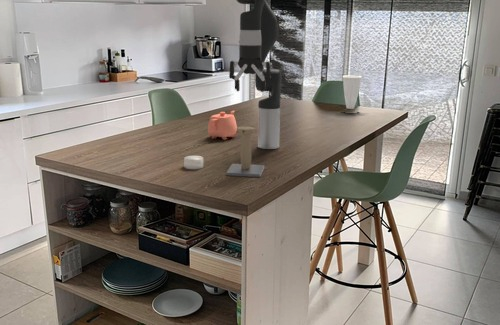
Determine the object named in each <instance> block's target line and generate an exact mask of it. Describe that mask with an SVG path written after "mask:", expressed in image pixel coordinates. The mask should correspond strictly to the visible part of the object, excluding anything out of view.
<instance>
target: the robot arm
mask: <svg viewBox="0 0 500 325" xmlns="http://www.w3.org/2000/svg"><path fill="white" fill-rule="evenodd" d="M236 2H237V3H238V4H240V5H241V4H242V5H254V6H253V8H252V9H251V10H247V11H242V12H241V13H240V16H239V36H238V37H239V38H238V39H239V40H238V43H239V44H238V46H239V47H238V50H239V51H238V52H239V56H238V58H239V59H238V60H237V61H236V60H230V61H229V74H228V75H229V76H228V77H229V79H231V80H234V90H235V91H236V92H240V78H241V76H242V75H244V74H245V75H249V74H251V75H255V76H254V80H255V81H254V84H255V89H256V90H257V91H259V92H260V93H263V92H271V95H270V96H268V97H266V98H261V99H260V100H259V101H258V108H257V109H258V113H257V114H258V116H257V122H258V124H257V148H259V149H263V150H276V149H279V148H280V130H281V129H280V128H281V125H280V123H281V96H282V94H281V92H282V79H283V78H282V72H281V70H280V69H275V68H274V69H273V68H271V61H270V60H267V61H266V59H267V57H268V55H269V53H270V52H271V50H272V48H273V47H274V45H275V44H276V41H277V39H278V38H279V36H278V31H279V30H278V22H279V21H278V19H277V16H276V14H275V13H274V11H273V10H272V9H271V7H270V5H269V3H268V1H267V0H236ZM237 65H238V67H239V68H240V70H239V71H238V72H237V74H236V75H235V68H236V67H237Z"/></svg>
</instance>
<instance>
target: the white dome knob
mask: <svg viewBox="0 0 500 325" xmlns="http://www.w3.org/2000/svg"><path fill="white" fill-rule="evenodd" d="M183 161H184V163H183V164H184V165H183V167H184V169H187V170H200V169H203V168H204V157H203V156H200V155H187V156H185V157H184V160H183Z"/></svg>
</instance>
